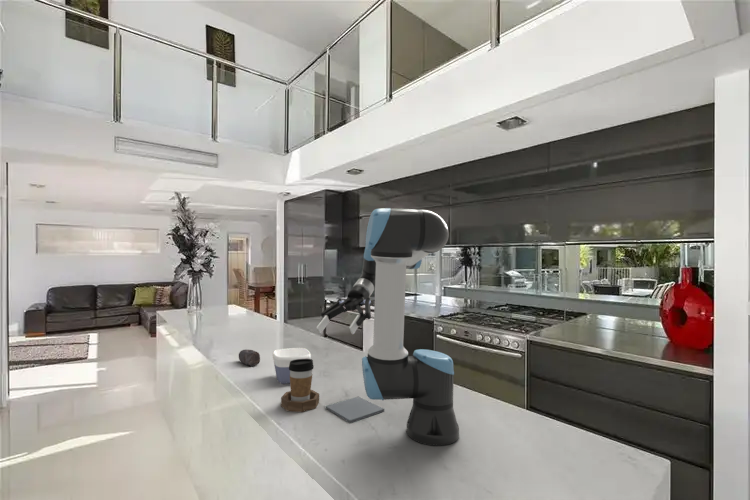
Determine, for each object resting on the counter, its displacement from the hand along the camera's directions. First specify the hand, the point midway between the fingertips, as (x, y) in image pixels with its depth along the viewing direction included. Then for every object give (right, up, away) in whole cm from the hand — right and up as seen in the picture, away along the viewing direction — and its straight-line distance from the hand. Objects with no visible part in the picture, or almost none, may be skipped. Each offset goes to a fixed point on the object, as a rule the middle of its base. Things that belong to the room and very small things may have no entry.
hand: (334, 331), depth 121 cm
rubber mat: (+7, -26, 0) cm, 27 cm away
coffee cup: (-12, -26, +4) cm, 29 cm away
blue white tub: (-21, -27, +30) cm, 46 cm away
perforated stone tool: (-47, -27, +51) cm, 74 cm away
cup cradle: (-12, -26, +4) cm, 29 cm away
